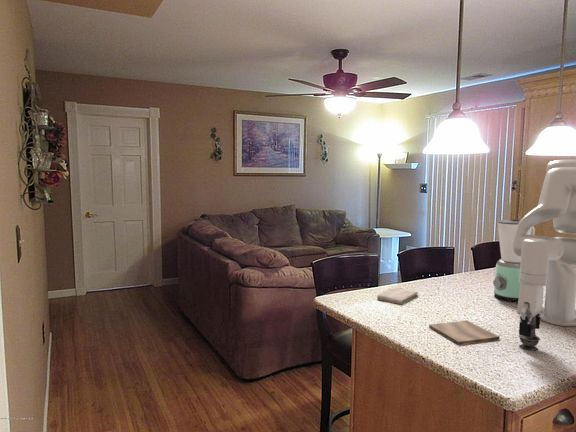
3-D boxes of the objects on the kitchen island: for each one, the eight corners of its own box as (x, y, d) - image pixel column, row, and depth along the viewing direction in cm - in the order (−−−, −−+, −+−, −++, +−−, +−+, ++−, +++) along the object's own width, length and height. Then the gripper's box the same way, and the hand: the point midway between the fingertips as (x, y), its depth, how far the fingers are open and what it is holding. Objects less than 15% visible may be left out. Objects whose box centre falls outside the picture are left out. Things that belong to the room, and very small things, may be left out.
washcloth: (419, 296, 192) (419, 289, 192) (402, 306, 178) (402, 299, 178) (394, 291, 199) (394, 285, 199) (376, 300, 186) (376, 293, 185)
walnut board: (466, 323, 157) (467, 320, 157) (499, 339, 142) (499, 336, 142) (429, 327, 153) (429, 324, 153) (458, 344, 138) (458, 341, 138)
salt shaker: (520, 342, 140) (522, 307, 138) (540, 347, 136) (543, 311, 135) (516, 348, 135) (518, 311, 134) (537, 353, 131) (540, 315, 130)
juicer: (508, 304, 179) (513, 222, 175) (483, 296, 192) (487, 218, 188) (541, 300, 186) (547, 220, 182) (515, 292, 198) (520, 217, 194)
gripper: (527, 272, 142) (524, 322, 143) (511, 280, 129) (507, 335, 131) (553, 276, 137) (549, 328, 138) (539, 285, 124) (534, 342, 126)
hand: (529, 331), depth 135 cm, fingers open, 9 cm apart
